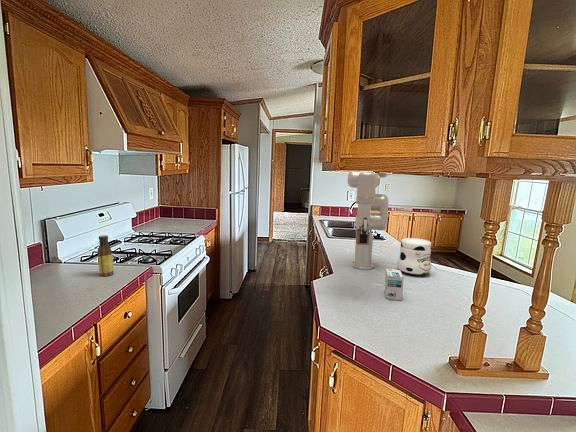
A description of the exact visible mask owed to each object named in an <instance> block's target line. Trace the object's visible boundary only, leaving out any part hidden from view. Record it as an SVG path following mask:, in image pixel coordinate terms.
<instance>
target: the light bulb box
mask: <svg viewBox="0 0 576 432" xmlns="http://www.w3.org/2000/svg"><path fill="white" fill-rule="evenodd" d="M402 273H403V272H402V271H401V270H399V269H393V268H385V280H384V281H385V283H384V293H385V298H386V299H387V300H393V301H394V300H395V301H403V288H404V279H405V277H404V275H403V274H402Z"/></svg>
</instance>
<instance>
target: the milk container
mask: <svg viewBox="0 0 576 432" xmlns="http://www.w3.org/2000/svg"><path fill="white" fill-rule="evenodd" d="M431 251H432V242H431V241H430V240H428V239H423V238H417V237H416V238H415V237H406V238H401V241H400V249H399V256H398V258H397V268H398V269H397V270H401V273H404V274H408V275H413V276H425V275H426V276H427V274H429V273H430V272H431V269H432V262H431V254H432V253H431Z"/></svg>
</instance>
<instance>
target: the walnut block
mask: <svg viewBox="0 0 576 432" xmlns="http://www.w3.org/2000/svg"><path fill="white" fill-rule="evenodd" d="M362 230H363V229H362ZM370 233H371V230H368V231H367V234H368V236H367V243H360V242H359V241H360V234H361V229H357V234H356V233H355V244H356V243H357V244H358V245H369V234H370Z"/></svg>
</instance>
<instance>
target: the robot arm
mask: <svg viewBox="0 0 576 432" xmlns="http://www.w3.org/2000/svg"><path fill="white" fill-rule="evenodd" d="M388 176H389V173H388V174H386V173H375V172H349V171H348V176H347V184H348V186H349V187H351V188H352V189H356V200H355V203H356V205H357V211H356V215H355V235H356V234H357V229H361V234H360V241H359V242H360V243H367V236H368V234H367V231H368V230H369V231H371V230H372V231H385V230H386V229H387V226H388V216H389V198H388V196H387V195H386V194H385V193H384V194H382V193H376V189H377V187H379V185H380V183H381V178H386V177H388ZM372 211H374V212H372ZM375 211H376V212H375ZM378 212H379V213H378ZM362 229H363V230H362ZM373 241H374V237H373V234H372V233H371V232H370V234H369V245H358V244H357V243H356V242H355V246H354V248H355V250H354V261H353V262H351V266H352V267H353V268H355V269H360V270H372V269H373V268H374V267H375V265H374V264H373V263H372V260H373V259H372V257H373V255H372V254H373V245H374V244H373Z"/></svg>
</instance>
